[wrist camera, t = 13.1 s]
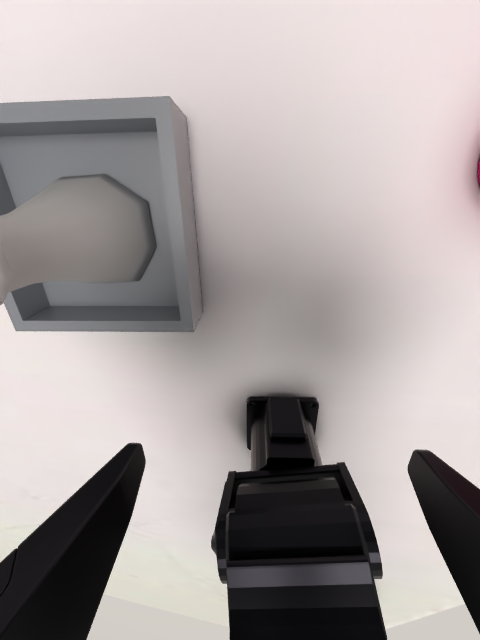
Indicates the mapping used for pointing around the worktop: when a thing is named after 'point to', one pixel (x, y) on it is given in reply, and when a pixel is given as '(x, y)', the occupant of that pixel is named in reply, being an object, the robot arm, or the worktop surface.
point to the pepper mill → (479, 172)
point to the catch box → (133, 173)
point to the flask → (76, 235)
